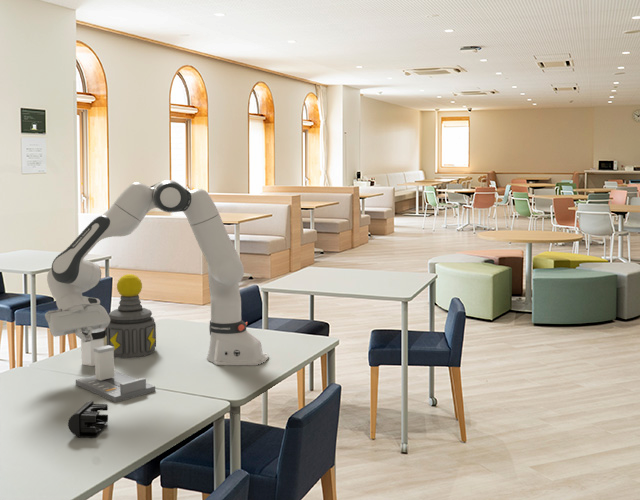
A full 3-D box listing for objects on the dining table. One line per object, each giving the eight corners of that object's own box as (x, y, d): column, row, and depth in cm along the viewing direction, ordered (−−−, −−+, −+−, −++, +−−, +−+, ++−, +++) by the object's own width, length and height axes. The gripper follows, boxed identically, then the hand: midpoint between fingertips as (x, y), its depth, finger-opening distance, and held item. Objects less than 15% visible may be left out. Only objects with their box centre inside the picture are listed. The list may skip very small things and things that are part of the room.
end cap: (83, 424, 185) (82, 400, 184) (108, 424, 185) (108, 400, 184) (68, 438, 175) (67, 413, 174) (95, 439, 175) (94, 414, 174)
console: (75, 384, 218) (75, 370, 218) (114, 375, 228) (114, 361, 228) (115, 402, 202) (114, 387, 202) (155, 391, 212) (155, 377, 212)
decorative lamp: (94, 355, 252) (91, 276, 248) (126, 343, 269) (124, 269, 266) (137, 361, 245) (134, 279, 242) (166, 348, 263) (164, 272, 259)
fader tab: (94, 378, 218) (93, 348, 217) (109, 374, 222) (108, 345, 221) (100, 380, 216) (99, 350, 215) (115, 377, 220) (114, 347, 219)
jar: (85, 367, 237) (83, 334, 236) (79, 361, 244) (77, 329, 242) (110, 363, 242) (109, 330, 240) (104, 358, 249) (103, 326, 247)
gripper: (45, 306, 221) (60, 341, 215) (103, 298, 236) (118, 330, 230) (40, 317, 224) (54, 352, 219) (97, 308, 239) (112, 340, 234)
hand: (88, 340), depth 225 cm, fingers closed
